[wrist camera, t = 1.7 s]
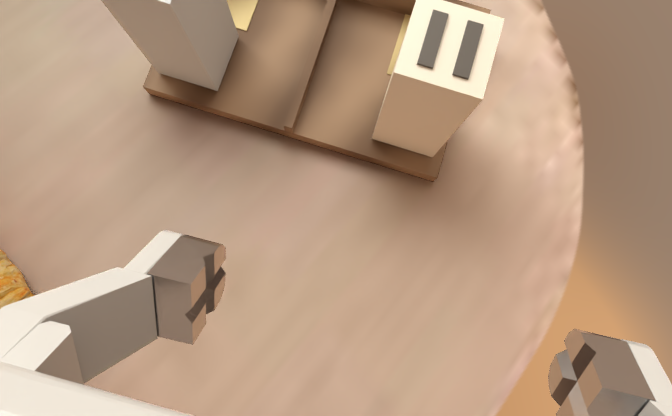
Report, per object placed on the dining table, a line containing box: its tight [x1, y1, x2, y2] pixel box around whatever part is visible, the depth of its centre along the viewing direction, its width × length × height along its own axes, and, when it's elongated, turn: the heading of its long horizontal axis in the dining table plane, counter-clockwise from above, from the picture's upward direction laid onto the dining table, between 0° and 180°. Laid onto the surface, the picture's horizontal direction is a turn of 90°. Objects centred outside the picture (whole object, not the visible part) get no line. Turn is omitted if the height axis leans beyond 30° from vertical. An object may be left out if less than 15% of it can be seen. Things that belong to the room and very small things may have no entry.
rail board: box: [143, 0, 491, 181], centre depth 32 cm, size 22×12×4 cm, turn 73°
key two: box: [372, 0, 504, 157], centre depth 27 cm, size 4×5×10 cm
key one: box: [101, 0, 239, 91], centre depth 27 cm, size 4×5×10 cm
